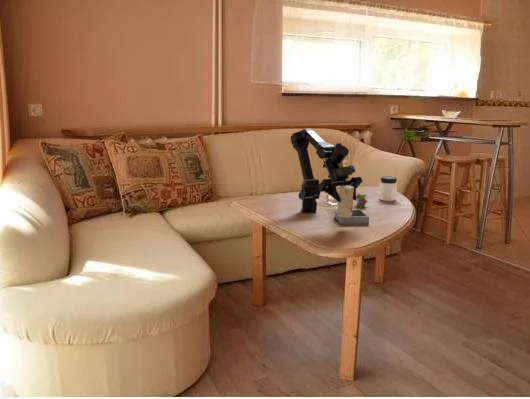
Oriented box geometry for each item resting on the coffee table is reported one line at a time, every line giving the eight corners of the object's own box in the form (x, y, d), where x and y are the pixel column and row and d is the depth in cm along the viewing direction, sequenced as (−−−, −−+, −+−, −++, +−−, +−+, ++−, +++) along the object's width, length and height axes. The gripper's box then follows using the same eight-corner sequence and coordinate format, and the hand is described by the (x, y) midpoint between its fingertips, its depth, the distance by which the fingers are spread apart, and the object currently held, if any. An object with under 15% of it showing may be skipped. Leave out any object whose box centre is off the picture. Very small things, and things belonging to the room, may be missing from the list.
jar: (398, 200, 241) (400, 178, 239) (384, 201, 240) (385, 179, 237) (390, 197, 250) (391, 175, 247) (376, 197, 248) (377, 176, 245)
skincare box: (346, 218, 186) (348, 189, 183) (337, 216, 188) (338, 187, 186) (352, 214, 191) (354, 186, 189) (343, 213, 194) (344, 185, 191)
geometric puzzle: (373, 203, 226) (367, 189, 228) (363, 205, 222) (357, 190, 224) (364, 209, 231) (358, 195, 234) (354, 211, 228) (348, 197, 230)
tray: (341, 224, 196) (341, 217, 196) (334, 217, 208) (334, 209, 207) (368, 224, 197) (369, 216, 197) (360, 216, 209) (360, 209, 208)
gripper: (323, 159, 184) (336, 192, 177) (361, 157, 192) (375, 188, 184) (312, 175, 193) (325, 206, 186) (349, 172, 200) (363, 202, 193)
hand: (347, 200), depth 187 cm, fingers closed on skincare box, 7 cm apart
